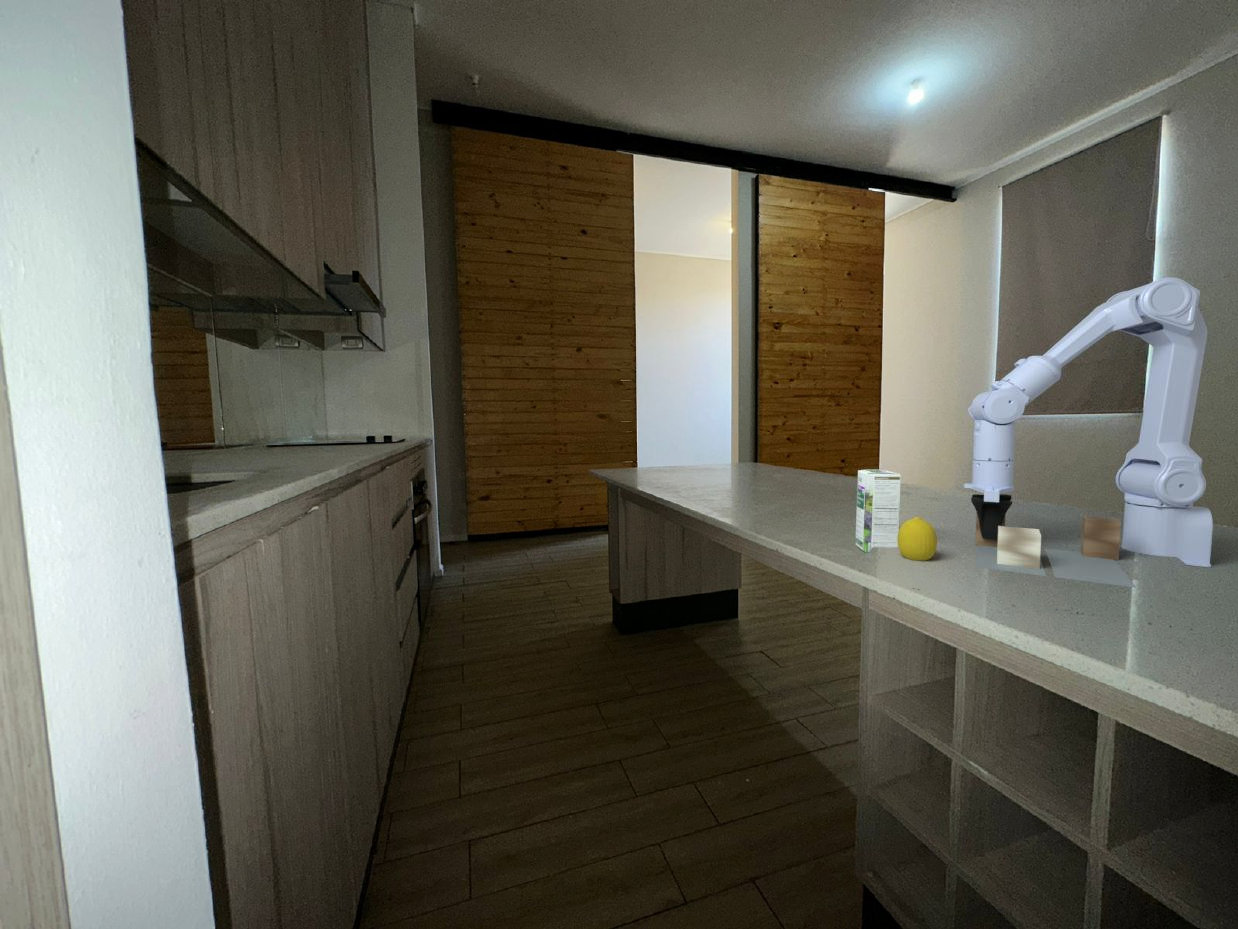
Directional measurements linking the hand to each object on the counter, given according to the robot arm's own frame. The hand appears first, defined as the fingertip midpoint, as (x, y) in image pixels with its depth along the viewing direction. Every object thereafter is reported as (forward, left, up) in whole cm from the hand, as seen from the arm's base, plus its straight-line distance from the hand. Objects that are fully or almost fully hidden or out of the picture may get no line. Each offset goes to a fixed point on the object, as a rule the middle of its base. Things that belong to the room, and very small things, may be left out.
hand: (989, 536), depth 87 cm
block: (-4, +11, -1) cm, 11 cm away
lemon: (+10, +16, -3) cm, 18 cm away
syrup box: (+16, +9, -3) cm, 19 cm away
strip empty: (-12, +8, -2) cm, 14 cm away
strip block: (-2, +8, -2) cm, 8 cm away
